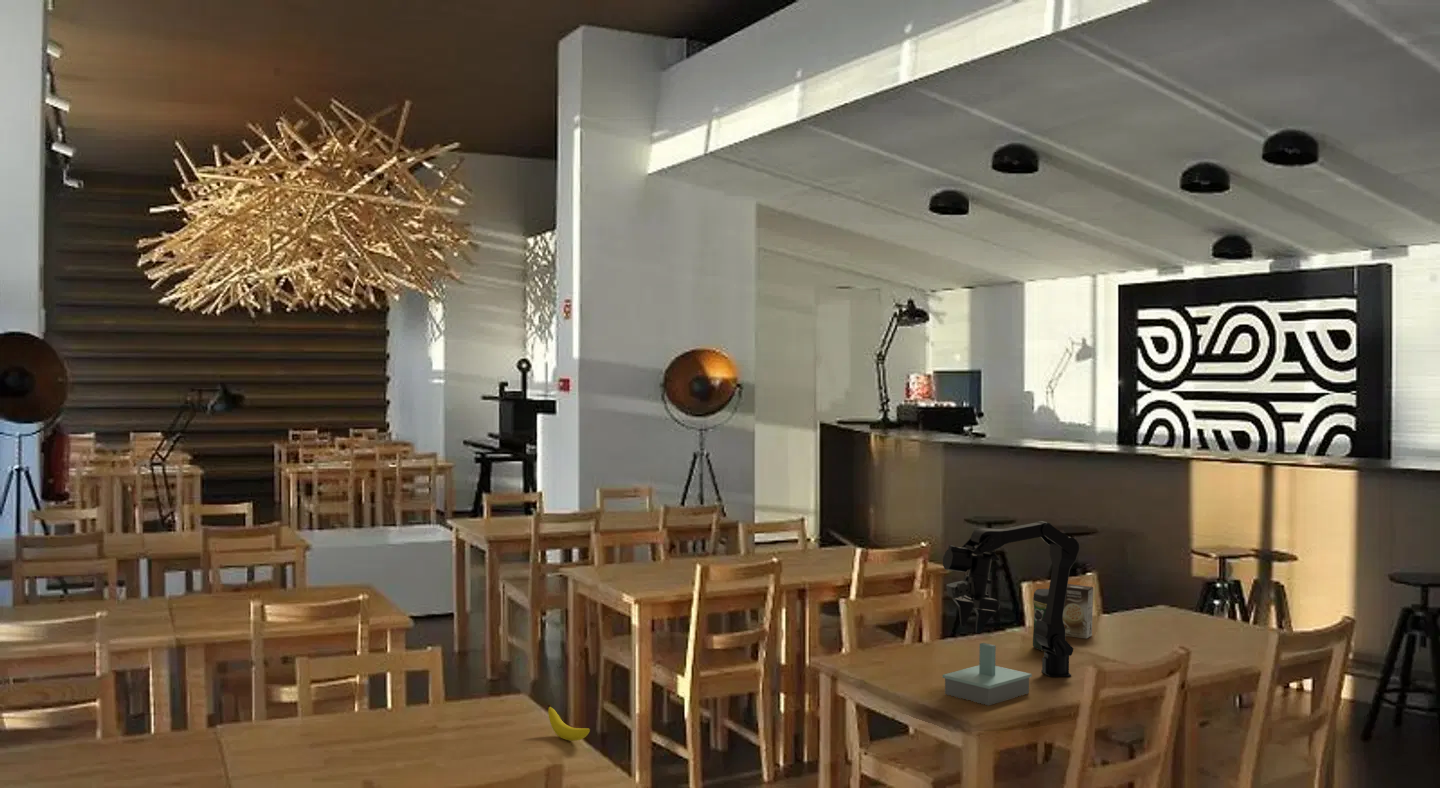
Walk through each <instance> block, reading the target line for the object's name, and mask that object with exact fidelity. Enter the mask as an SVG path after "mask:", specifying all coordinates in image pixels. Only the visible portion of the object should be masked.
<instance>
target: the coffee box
mask: <svg viewBox="0 0 1440 788" xmlns="http://www.w3.org/2000/svg"><path fill="white" fill-rule="evenodd" d="M1093 600H1094V587H1093V586H1087V585H1080V584H1071V583H1068V585H1067V591H1066V598H1065V605H1064V611H1063V623H1064V626H1065V637H1073V638H1079V639H1088V638H1090V637H1091V636H1092V635H1093V611H1094V610H1093V609H1094V607H1093V604H1094V603H1093V602H1094V601H1093Z"/></svg>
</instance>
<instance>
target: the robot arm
mask: <svg viewBox="0 0 1440 788" xmlns="http://www.w3.org/2000/svg"><path fill="white" fill-rule="evenodd" d="M1036 538H1037V539H1038V538H1041V540H1043V541H1044V543H1046V544H1047V545H1048V546H1049V557H1050V561H1051V565H1052V568H1051V576H1050V581H1049V588H1048V589H1049V593H1048V600H1047V606H1046V613H1045V616H1044V617H1043V619H1042V620H1041V621H1040V620H1037V621H1036V630H1035V632H1034V634H1036V640H1037V641H1038V643H1039V644H1040V645H1041V648H1042V650H1045V651H1043V657H1042V659H1041V662H1042V663H1041V665H1042V666H1041V667H1042V668H1041V673H1043V674H1045V675H1047V677H1049V678H1055V677H1057V678H1058V677H1062V678H1063V677H1065V678H1066V677H1072V673H1070V657H1071V656H1072V655H1073V652H1074V647H1073V646H1072V645H1071V644H1070V643H1069V642H1068V641H1067V639H1066V636H1065V626H1064V623H1063V611H1064V605H1065V598H1066V591H1067V585H1068V584H1069V577H1070V571H1071V568H1072V567H1073V566H1074V564H1075V563H1076V561H1077V558H1078V555H1079V552H1080V543H1079V542H1078V540H1077V539H1075V538H1074V537H1071V536H1068V535H1067V534H1065V533H1063V532H1062V531H1060V530H1059V529H1057V528H1056V527H1054V526H1053V525H1052V523H1050V522H1048V521H1043V520H1039V521H1036V522H1032V523H1027V524H1021V525H1016V526H1011V527H1005V528H989V527H988V528H985V527H984V528H983V527H981V528H976V529H974V530H973V532H972V534H971V535H970V538H968V539H967V541H966V542H965V543H964V544H963V545H962V546H961V547H960V546H955V545H948V549H947V550H946V551H945V553H944V555H943V556H942V566H943V569H944V570H946V571H953V572H961V573H966V572H967V571H968V573H967V574H965V575H964V576H963V580H960V581H959V580H958V581H955V582H954V581H953V582H951V583H947V584H946V592H947V596H948V597H951V598H952V600H953V602H954V603H955V604H956V606H957V609H958V615H959V622H960V626H961V627H965V626H966V624H967V623H968V620H969V617H970V616H971V614H972V611H974V612H975V615H976V616H975V633H976V634H981V632H982V631H983V629H984V628H985V626H986V625H987V624H988V623H989V621H990V619H991V618H992V617H993V616H994V615H995V614H996V613H997V612H1000V607H1001V603H1000V602H999V600H997V599H995V598H991V597H990V595H989V594H987V590H988V586H989V585H991V584H992V579H989V578H990V574H991V573H990V571H991V566H992V562H993V561H1000V558H999V557H998V556H997V554H996V551H997V550H999V549H1000V548H1002V547H1004V546H1005V545H1008V544H1010V543H1015V542H1016V543H1017V542H1020V541H1027V540H1031V539H1032V540H1033V539H1036ZM988 584H989V585H988Z"/></svg>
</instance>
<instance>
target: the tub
mask: <svg viewBox="0 0 1440 788" xmlns="http://www.w3.org/2000/svg"><path fill="white" fill-rule="evenodd" d="M1029 688H1030V678H1026V679H1023V680H1019V681H1016V682H1012V683H1008V684H1005V685H1001V686H998V687H994V688H991V689H987V688H983V687H979V686H975V685H970V684H966V683H962V682H958V681H954V680H950V679H946V678H944V695H945V694H947V695H946V696H949V695H951V696H950V697H953V696H955V697H954V698H957V697H958V698H957V699H961V698H963V699H962V700H964V699H967V700H966V701H968V700H971V701H970V702H972V701H974V702H973V703H976V702H977V704H980V703H981V704H980V705H984V704H985V706H991V705H995V704H998V703H1002V702H1005V701H1009V700H1012V699H1014V698H1015V697H1016V698H1018V696H1019V697H1022V696H1025V695H1024V694H1026V695H1029V694H1028V693H1030V689H1029ZM1021 695H1022V696H1021Z"/></svg>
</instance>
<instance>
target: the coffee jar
mask: <svg viewBox="0 0 1440 788" xmlns="http://www.w3.org/2000/svg"><path fill="white" fill-rule="evenodd" d="M1048 593H1049V588H1038V589H1036V590H1035V591H1034V593H1033V598H1032V600H1033V601H1032V602H1033V609H1034V610H1033V611H1034V613H1033V614H1034V615H1033V616H1034V617H1033V633H1032V647H1033V648H1034V649H1037V650H1039V651H1041V650H1042V648H1041V645H1040V644H1039V643H1038V641H1037V640H1036V634H1034V632H1035V630H1036V621H1037V620H1040V621H1041V620H1042V619H1043V617H1044V616H1045V613H1046V606H1047V600H1048ZM1042 652H1046V651H1045V650H1042Z"/></svg>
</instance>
